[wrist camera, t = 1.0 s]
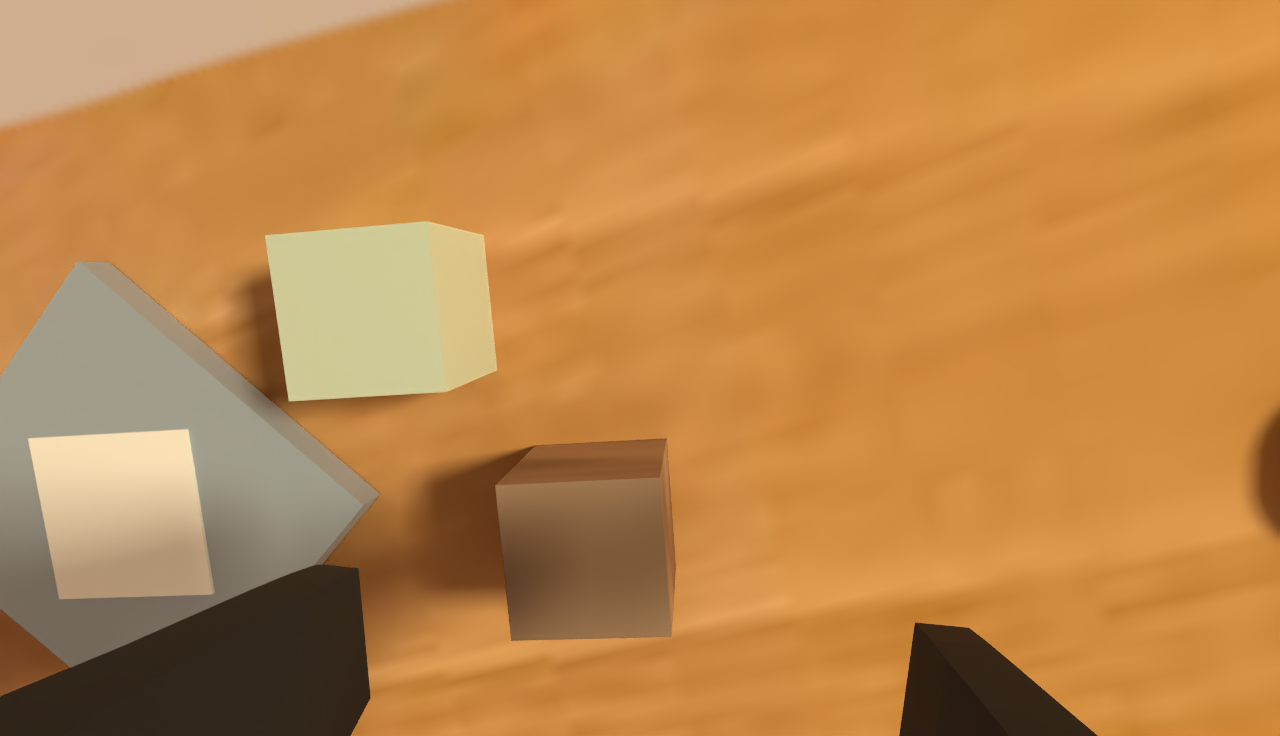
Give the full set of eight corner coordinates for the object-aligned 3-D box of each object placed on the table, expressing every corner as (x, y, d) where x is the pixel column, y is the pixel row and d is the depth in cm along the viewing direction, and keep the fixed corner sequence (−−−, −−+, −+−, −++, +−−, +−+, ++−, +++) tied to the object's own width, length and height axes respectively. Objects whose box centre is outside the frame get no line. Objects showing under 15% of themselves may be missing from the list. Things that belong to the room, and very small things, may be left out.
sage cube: (497, 369, 19) (446, 392, 15) (371, 377, 19) (288, 401, 15) (484, 235, 18) (427, 221, 14) (354, 245, 19) (265, 235, 15)
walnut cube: (675, 565, 19) (671, 636, 15) (547, 569, 20) (511, 640, 16) (666, 437, 19) (659, 477, 15) (536, 444, 19) (495, 484, 15)
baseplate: (189, 725, 21) (162, 749, 20) (-63, 514, 21) (-104, 526, 20) (380, 494, 20) (361, 506, 19) (109, 262, 19) (74, 260, 18)
